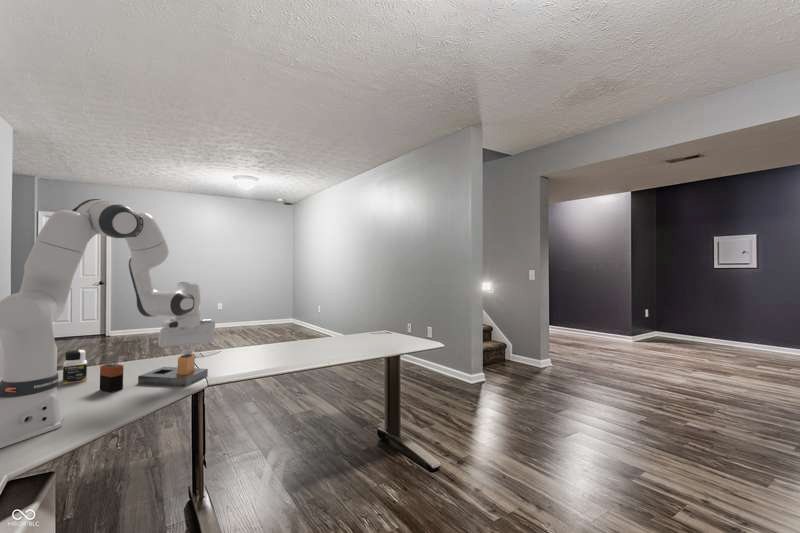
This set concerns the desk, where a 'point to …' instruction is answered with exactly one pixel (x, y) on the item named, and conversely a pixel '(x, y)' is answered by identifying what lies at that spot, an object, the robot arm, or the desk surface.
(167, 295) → the robot arm
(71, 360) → the medicine bottle
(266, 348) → the desk surface
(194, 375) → the socket plate
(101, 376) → the battery
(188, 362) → the plug
